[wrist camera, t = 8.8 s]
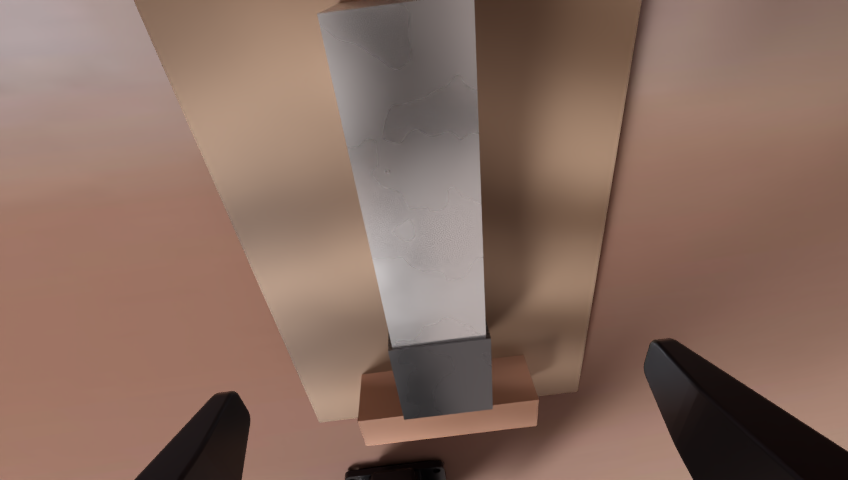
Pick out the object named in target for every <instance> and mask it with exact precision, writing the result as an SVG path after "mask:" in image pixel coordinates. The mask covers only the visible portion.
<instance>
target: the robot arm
mask: <svg viewBox="0 0 848 480" xmlns="http://www.w3.org/2000/svg"><path fill="white" fill-rule="evenodd" d="M644 373H645V376H646V378H647V381H648V383H649V386H650V388H651V390H652V393H653V395H654V397H655V400H656V402H657V405H658V407H659V409H660V412H661V414H662V417H663V419H664V421H665V424H666V426H667V428H668V431H669V433H670V435H671V438H672V440H673V442H674V444H675V446H676V448H677V450H678V452H679V454H680V456H681V458H682V460H683V462H684V464H685V465H686V467H687V469H688V471H689V473H690V475H691V476H692V478H693V480H848V451H846V450H845V449H843V448H842V447H840V446H839V445H837V444H836V443H834V442H832V441H831V440H829V439H828V438H826V437H825V436H823V435H822V434H820V433H819V432H817V431H815V430H814V429H812V428H811V427H809V426H808V425H806V424H805V423H803V422H802V421H800V420H798V419H797V418H795V417H794V416H792V415H791V414H789V413H788V412H786V411H785V410H783V409H781V408H780V407H778V406H777V405H775V404H774V403H772V402H771V401H769V400H768V399H766V398H764V397H763V396H761V395H760V394H758V393H757V392H755V391H754V390H752V389H751V388H749V387H747V386H746V385H744V384H743V383H741V382H740V381H738V380H737V379H735V378H734V377H732V376H730V375H729V374H727V373H726V372H724V371H723V370H721V369H720V368H718V367H717V366H715V365H713V364H712V363H710V362H709V361H707V360H706V359H704V358H703V357H701V356H700V355H698V354H696V353H695V352H693V351H692V350H690V349H689V348H687V347H686V346H684V345H683V344H681V343H679V342H678V341H676V340H674V339H671V338H666V339H658V340H653V341H652V342H651V343H650V345H649V349H648V352H647V355H646V359H645V362H644ZM249 427H250V414H249V412H248V410H247V408H246V406H245V405H244V403H243V401H242V400H241V398H240V396H239V395H238V393H236V392H235V391H229V392H221V393H217V394H215V395H214V396H212V397H211V398H210V399H209V400H208V402H207V403H206V404H205V405H204V406H203V407H202V408H201V409H200V410H199V411H198V412H197V413H196V414H195V415H194V416H193V418H192V419H191V420H190V421H189V422H188V423H187V424H186V425H185V426H184V427H183V428H182V429H181V430H180V431H179V433H178V434H177V435H176V436H175V437H174V438H173V439H172V440H171V441H170V442H169V443H168V444H167V445H166V446H165V448H164V449H163V450H162V451H161V452H160V453H159V454H158V455H157V456H156V457H155V458H154V459H153V460H152V461H151V462H150V464H149V465H148V466H147V467H146V468H145V469H144V470H143V471H142V472H141V473H140V474H139V475H138V476H137V477H136V479H135V480H242V473H243V467H244V460H245V453H246V447H247V440H248V434H249ZM345 480H446V475H445V469H444V463H443V462H442V461H428V462H419V463H411V464H403V465H394V466H386V467H377V468H369V469H360V470H352V471H348V472H346V474H345Z"/></svg>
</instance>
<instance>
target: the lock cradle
mask: <svg viewBox="0 0 848 480" xmlns="http://www.w3.org/2000/svg"><path fill="white" fill-rule="evenodd" d="M352 1H360V0H134V2H135V4H136V6H137V9H138V11H139V13H140V16H141V18H142V20H143V22H144V25H145V27H146V29H147V32H148V34H149V36H150V38H151V41H152V43H153V45H154V47H155V50H156V52H157V54H158V57H159V59H160V61H161V63H162V66H163V68H164V70H165V72H166V75H167V77H168V79H169V82H170V84H171V86H172V88H173V91H174V93H175V95H176V98H177V100H178V102H179V104H180V107H181V109H182V111H183V113H184V116H185V118H186V120H187V123H188V125H189V127H190V129H191V132H192V134H193V136H194V138H195V141H196V143H197V145H198V148H199V150H200V152H201V154H202V157H203V159H204V161H205V164H206V166H207V168H208V170H209V173H210V175H211V177H212V179H213V182H214V184H215V186H216V189H217V191H218V193H219V195H220V198H221V200H222V202H223V204H224V207H225V209H226V211H227V214H228V216H229V218H230V220H231V223H232V225H233V227H234V230H235V232H236V234H237V236H238V239H239V241H240V243H241V245H242V248H243V250H244V252H245V255H246V257H247V259H248V261H249V264H250V266H251V268H252V270H253V273H254V275H255V277H256V280H257V282H258V284H259V286H260V289H261V291H262V293H263V296H264V298H265V300H266V302H267V305H268V307H269V309H270V311H271V314H272V316H273V318H274V321H275V323H276V325H277V327H278V330H279V332H280V334H281V336H282V339H283V341H284V343H285V346H286V348H287V350H288V352H289V355H290V357H291V359H292V362H293V364H294V366H295V368H296V371H297V373H298V375H299V377H300V380H301V382H302V384H303V387H304V389H305V391H306V393H307V396H308V398H309V400H310V402H311V405H312V407H313V409H314V412H315V414H316V416H317V418H318V421H319V423H320V422H329V421H337V420H345V419H354V418H358V424H359V427H360V429H361V432H362V435H363V438H364V441H365V444H366V446H372V445H380V444H389V443H397V442H405V441H414V440H422V439H431V438H439V437H447V436H456V435H464V434H473V433H481V432H489V431H498V430H506V429H515V428H523V427H531V426H537V417H538V404H539V399H538V396H546V395H554V394H562V393H571V392H578V386H579V379H580V373H581V367H582V361H583V355H584V349H585V343H586V337H587V331H588V325H589V319H590V312H591V306H592V300H593V294H594V288H595V282H596V276H597V270H598V264H599V258H600V252H601V245H602V239H603V233H604V227H605V221H606V215H607V209H608V203H609V197H610V191H611V185H612V178H613V172H614V166H615V160H616V154H617V148H618V142H619V136H620V130H621V124H622V118H623V111H624V105H625V99H626V93H627V87H628V81H629V75H630V69H631V63H632V57H633V51H634V44H635V38H636V32H637V26H638V20H639V14H640V8H641V2H642V0H474V7H475V35H476V64H477V93H478V121H479V150H480V178H481V207H482V236H483V264H484V293H485V318H486V321H487V325H488V329H489V333H490V337H491V357H492V397H493V409H491V410H482V411H474V412H466V413H457V414H449V415H441V416H432V417H424V418H416V419H407V420H404V417H403V413H402V408H401V404H400V400H399V396H398V391H397V387H396V383H395V379H394V374H393V370H392V366H391V362H390V358H389V353H388V326H387V322H386V318H385V313H384V309H383V304H382V300H381V295H380V291H379V287H378V282H377V278H376V273H375V269H374V264H373V260H372V256H371V251H370V247H369V242H368V238H367V233H366V229H365V224H364V220H363V216H362V211H361V207H360V202H359V198H358V193H357V189H356V185H355V180H354V176H353V171H352V167H351V162H350V158H349V154H348V149H347V145H346V140H345V136H344V131H343V127H342V122H341V118H340V114H339V109H338V105H337V100H336V96H335V91H334V87H333V83H332V78H331V74H330V69H329V65H328V60H327V56H326V51H325V47H324V43H323V38H322V34H321V29H320V25H319V20H318V16H317V13H319V12H322V11H324V10H326V9H328V8H330V7H332V6H334V5H336V4H338V3H345V2H352Z"/></svg>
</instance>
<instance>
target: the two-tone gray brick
mask: <svg viewBox="0 0 848 480" xmlns="http://www.w3.org/2000/svg"><path fill="white" fill-rule="evenodd" d="M317 16H318V20H319V25H320V29H321V34H322V38H323V43H324V47H325V51H326V56H327V60H328V65H329V69H330V74H331V78H332V83H333V87H334V91H335V96H336V100H337V105H338V109H339V114H340V118H341V122H342V127H343V131H344V136H345V140H346V145H347V149H348V154H349V158H350V162H351V167H352V171H353V176H354V180H355V185H356V189H357V193H358V198H359V202H360V207H361V211H362V216H363V220H364V224H365V229H366V233H367V238H368V242H369V247H370V251H371V256H372V260H373V264H374V269H375V273H376V278H377V282H378V287H379V291H380V295H381V300H382V304H383V309H384V313H385V318H386V322H387V326H388V353H389V358H390V362H391V366H392V370H393V374H394V379H395V383H396V387H397V391H398V396H399V400H400V404H401V408H402V413H403V417H404V420H407V419H416V418H424V417H432V416H441V415H449V414H457V413H466V412H474V411H482V410H491V409H493V397H492V357H491V337H490V333H489V329H488V325H487V321H486V318H485V293H484V264H483V236H482V207H481V178H480V150H479V121H478V93H477V64H476V35H475V7H474V0H360V1H352V2H345V3H338V4H336V5H334V6H332V7H330V8H328V9H326V10H324V11H322V12H319V13H317Z"/></svg>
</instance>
